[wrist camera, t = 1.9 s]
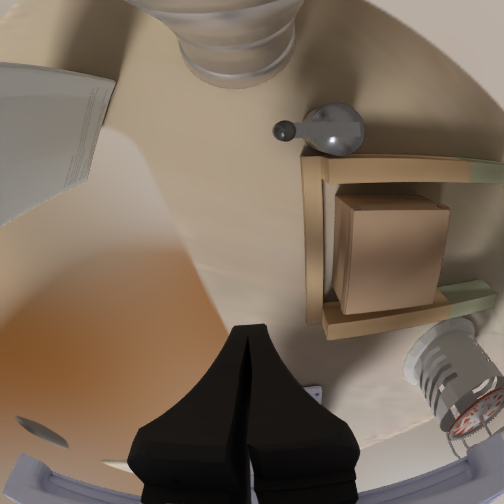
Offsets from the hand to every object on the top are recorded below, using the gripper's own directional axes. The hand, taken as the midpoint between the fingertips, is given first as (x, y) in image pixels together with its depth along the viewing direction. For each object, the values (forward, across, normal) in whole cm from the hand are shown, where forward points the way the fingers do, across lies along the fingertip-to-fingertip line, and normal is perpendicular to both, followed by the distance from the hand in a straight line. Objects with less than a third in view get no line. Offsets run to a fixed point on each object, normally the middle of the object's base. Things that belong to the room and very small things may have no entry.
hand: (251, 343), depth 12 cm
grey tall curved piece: (+10, -19, +15) cm, 27 cm away
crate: (+11, -10, 0) cm, 14 cm away
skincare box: (+11, +12, -11) cm, 20 cm away
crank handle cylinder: (+10, -4, -8) cm, 14 cm away
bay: (+10, -14, 0) cm, 17 cm away
